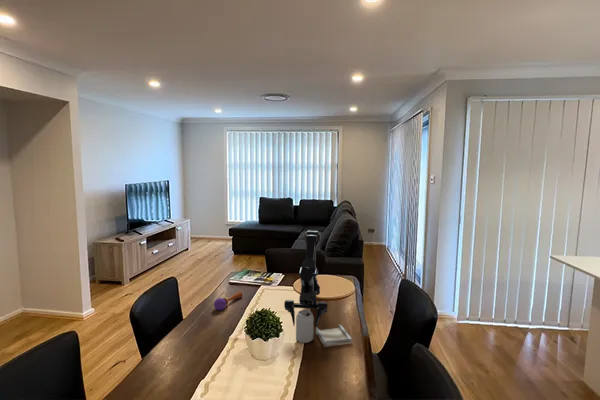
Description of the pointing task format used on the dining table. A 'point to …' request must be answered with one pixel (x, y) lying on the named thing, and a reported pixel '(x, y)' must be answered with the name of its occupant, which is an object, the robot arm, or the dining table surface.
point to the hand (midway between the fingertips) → (304, 326)
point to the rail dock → (334, 336)
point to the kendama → (225, 301)
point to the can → (304, 326)
